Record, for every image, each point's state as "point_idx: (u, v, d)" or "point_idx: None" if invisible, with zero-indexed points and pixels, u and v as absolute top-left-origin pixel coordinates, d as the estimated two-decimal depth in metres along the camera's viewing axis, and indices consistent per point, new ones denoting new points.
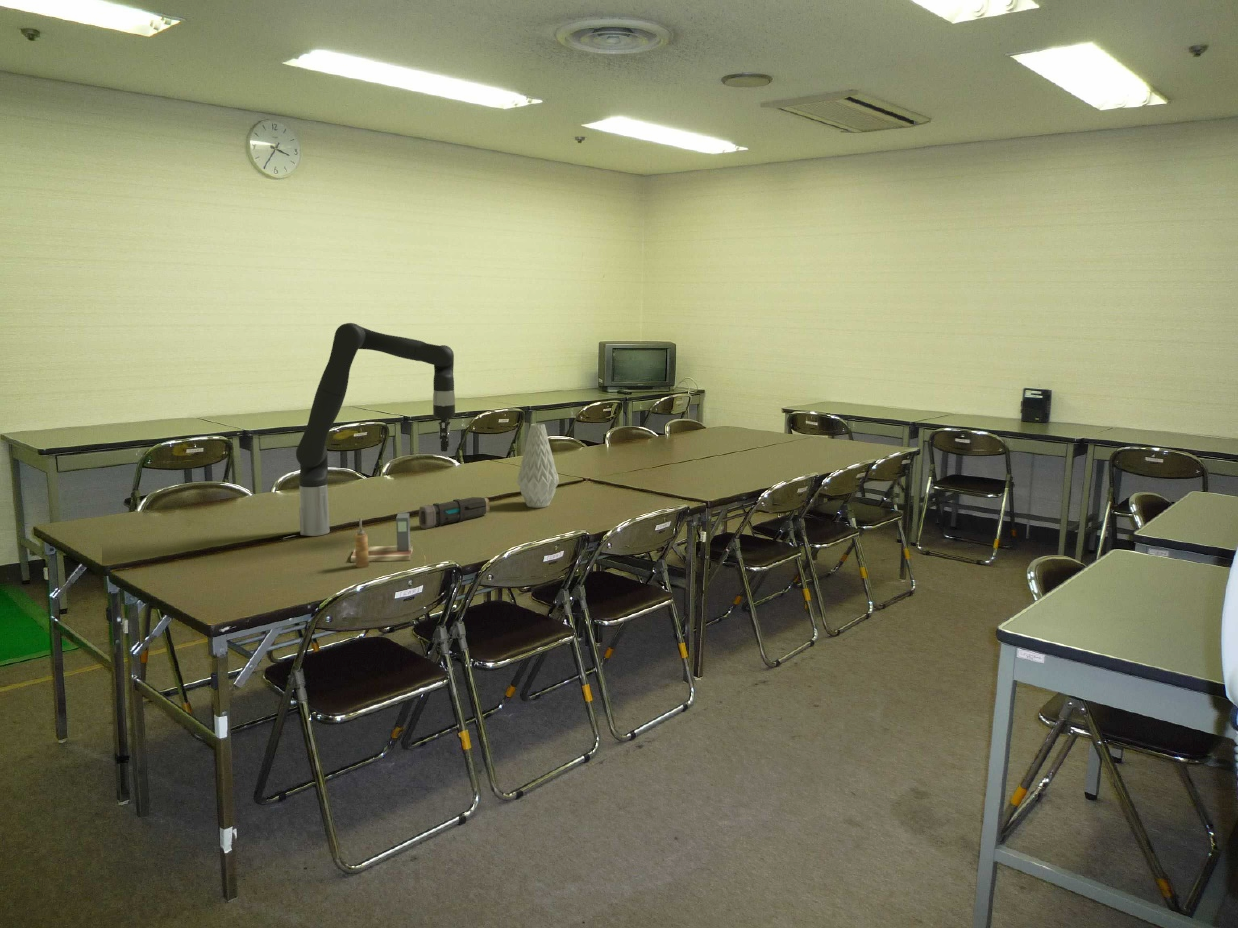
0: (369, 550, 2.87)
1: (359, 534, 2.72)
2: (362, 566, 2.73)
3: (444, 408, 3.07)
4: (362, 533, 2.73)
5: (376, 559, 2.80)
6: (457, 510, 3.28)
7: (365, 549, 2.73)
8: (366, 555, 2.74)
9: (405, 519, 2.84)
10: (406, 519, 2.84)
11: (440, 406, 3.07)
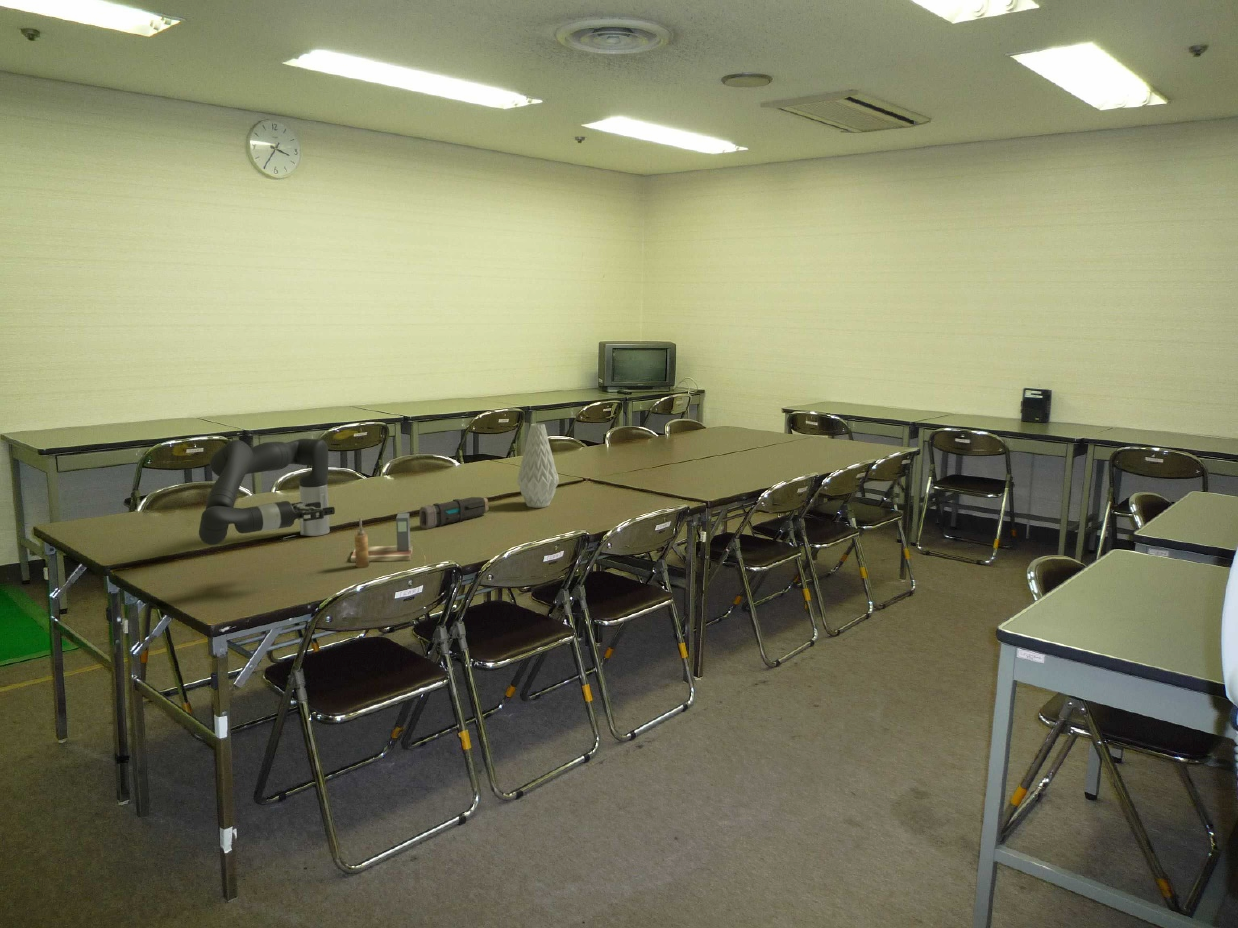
0: (369, 550, 2.87)
1: (359, 534, 2.72)
2: (362, 566, 2.73)
3: None
4: (362, 533, 2.73)
5: (376, 559, 2.80)
6: (457, 510, 3.29)
7: (365, 549, 2.73)
8: (366, 555, 2.74)
9: (405, 519, 2.84)
10: (406, 519, 2.84)
11: None
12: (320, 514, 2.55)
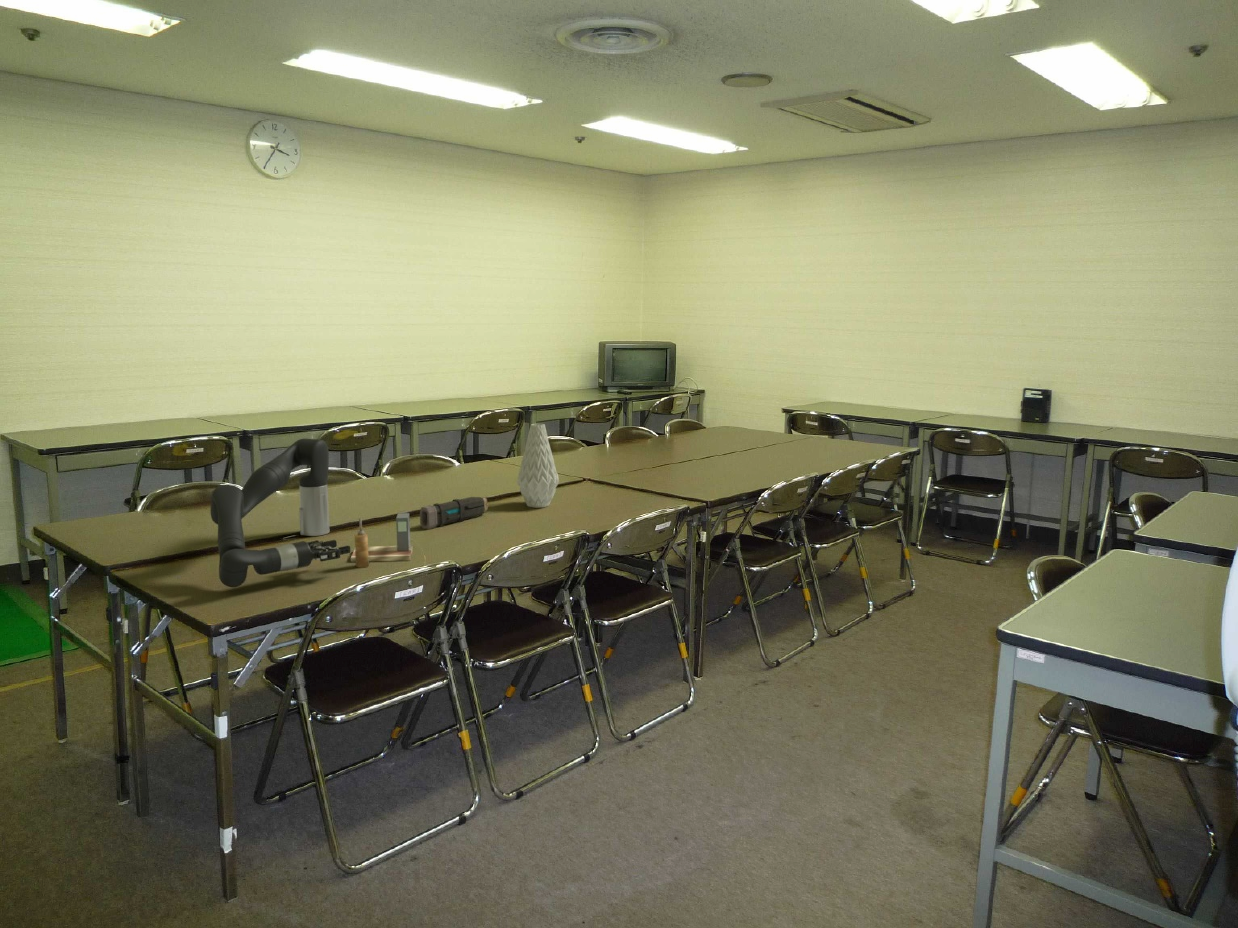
0: (369, 550, 2.87)
1: (359, 534, 2.72)
2: (362, 566, 2.73)
3: None
4: (362, 533, 2.73)
5: (376, 559, 2.80)
6: (457, 510, 3.29)
7: (365, 549, 2.73)
8: (366, 555, 2.74)
9: (405, 519, 2.84)
10: (406, 519, 2.84)
11: None
12: (336, 554, 2.61)
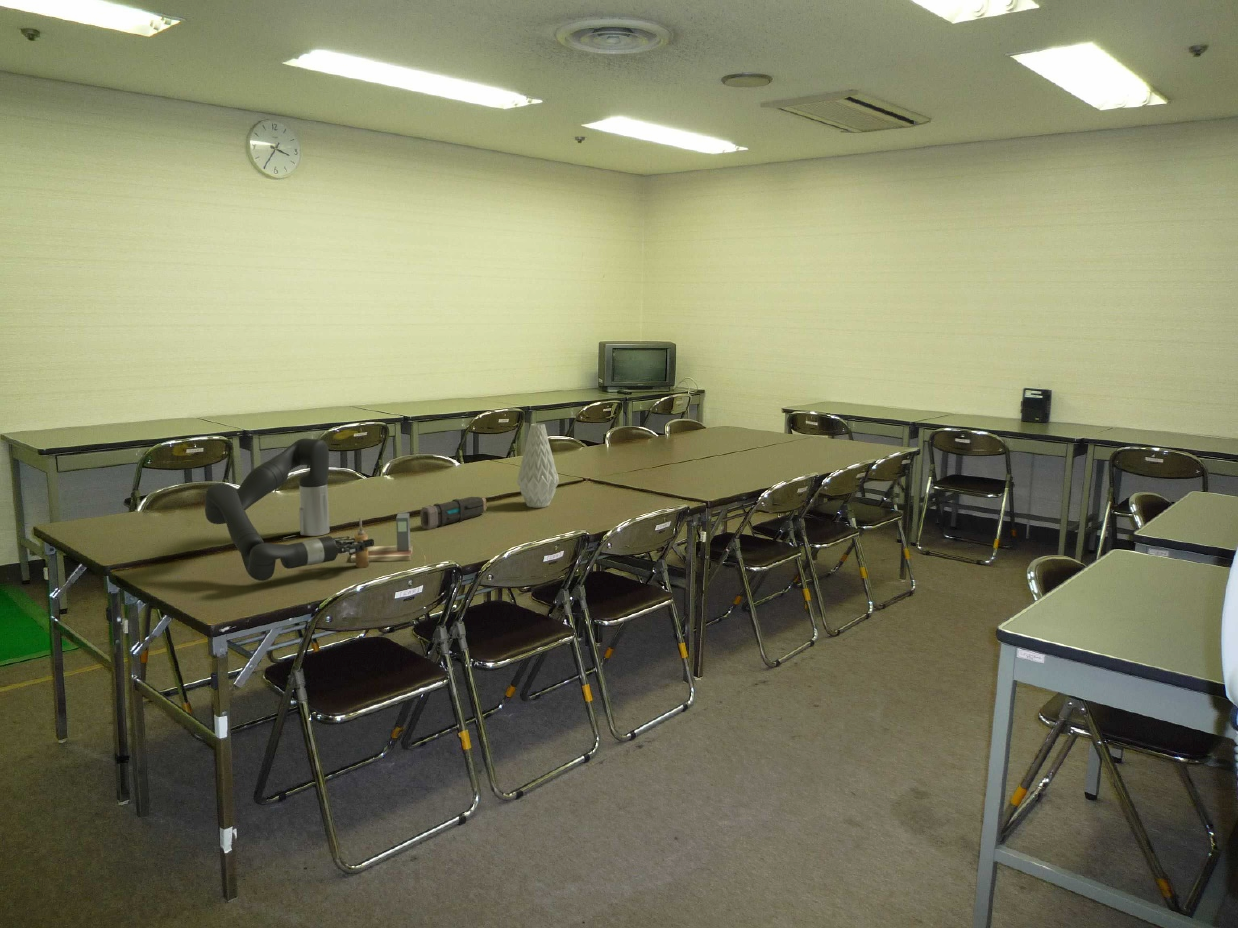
0: (369, 550, 2.87)
1: (359, 534, 2.72)
2: (362, 566, 2.73)
3: None
4: (362, 533, 2.73)
5: (376, 559, 2.80)
6: (457, 509, 3.29)
7: (365, 549, 2.73)
8: (366, 555, 2.74)
9: (405, 519, 2.84)
10: (406, 519, 2.84)
11: None
12: (361, 547, 2.69)
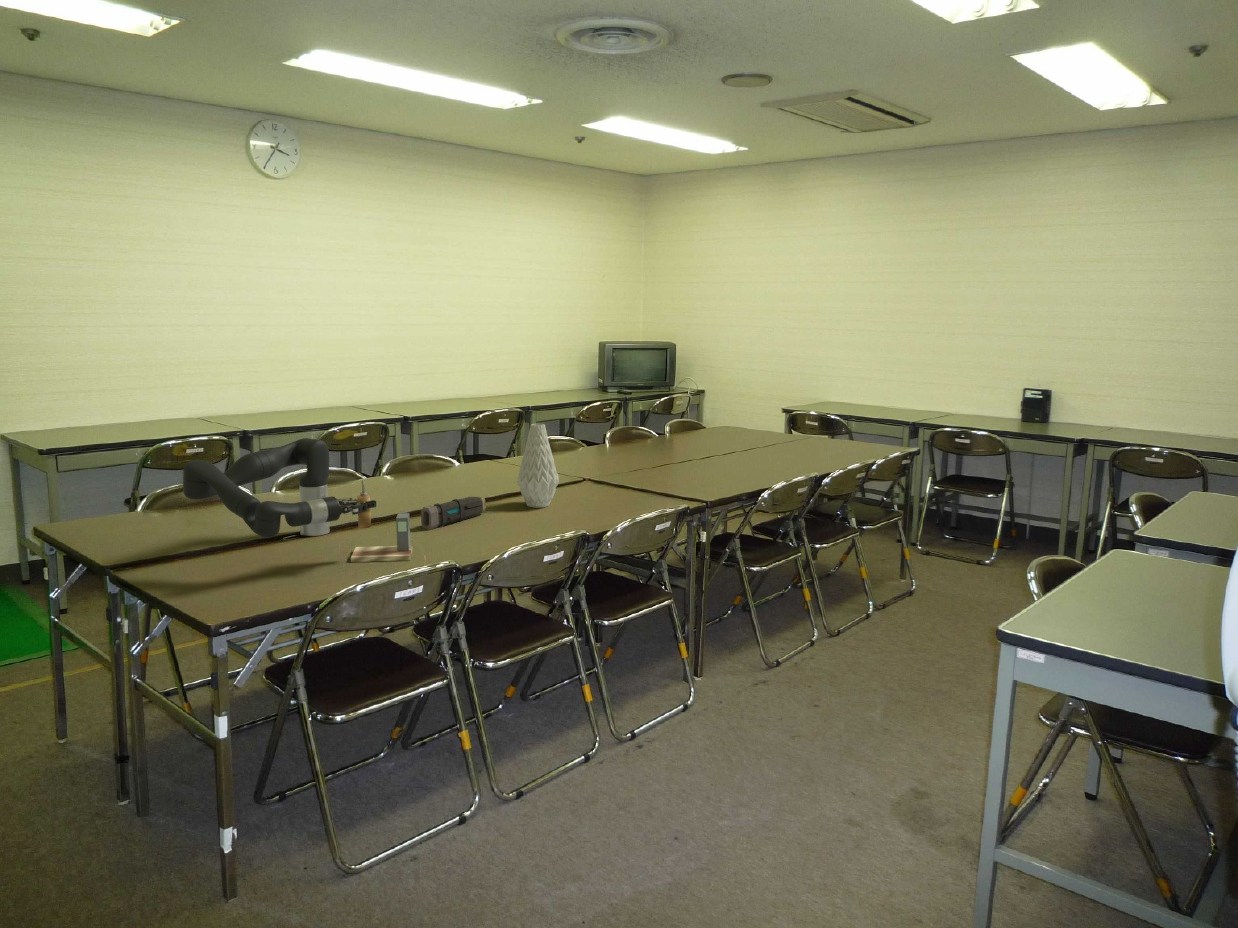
0: (369, 550, 2.87)
1: (362, 495, 2.79)
2: (365, 527, 2.80)
3: None
4: (365, 494, 2.79)
5: (376, 559, 2.80)
6: (457, 509, 3.29)
7: (368, 510, 2.79)
8: (368, 516, 2.80)
9: (405, 519, 2.84)
10: (406, 519, 2.84)
11: None
12: (364, 507, 2.75)
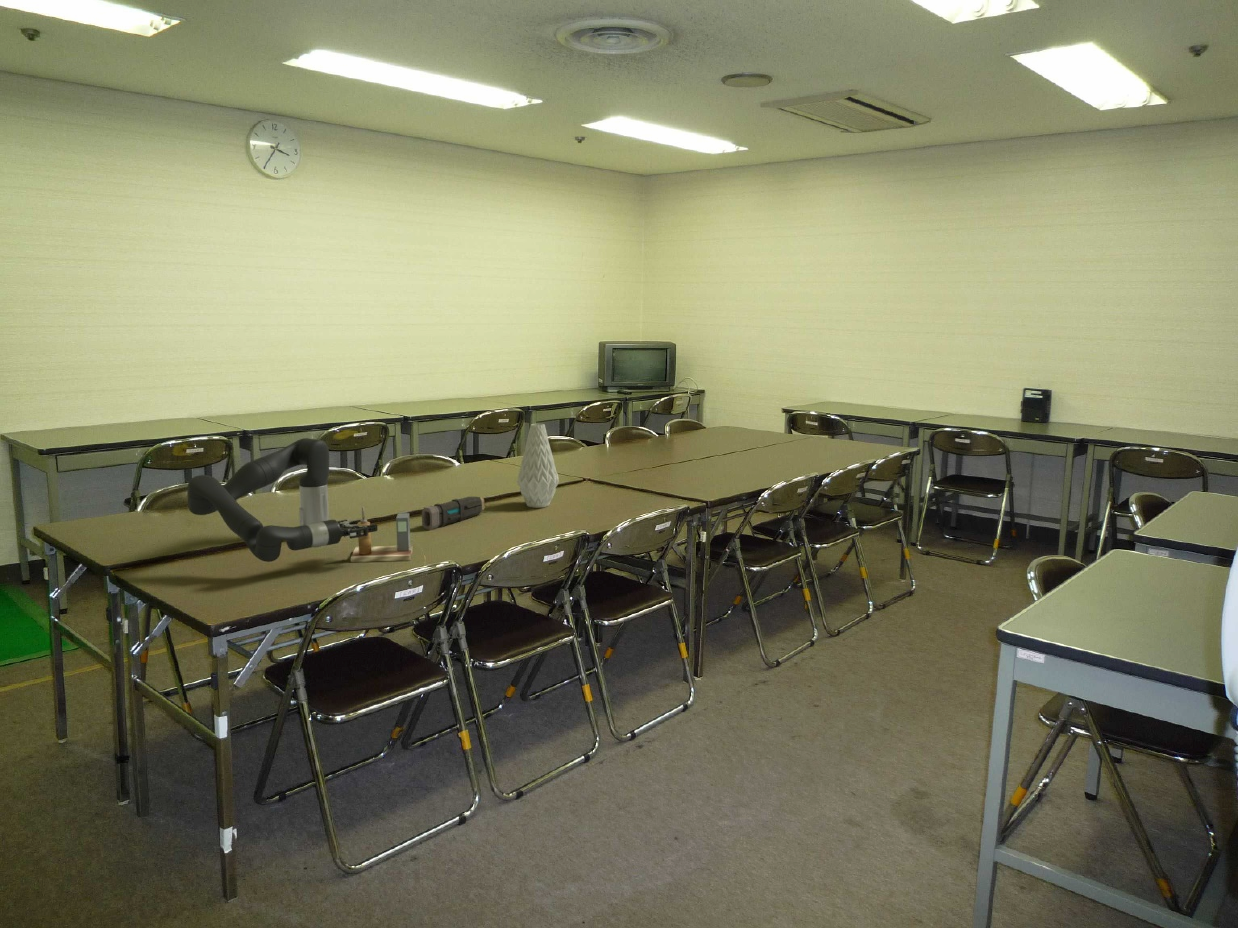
0: None
1: (362, 522, 2.80)
2: (365, 553, 2.81)
3: None
4: (365, 521, 2.80)
5: (376, 559, 2.80)
6: (457, 509, 3.29)
7: (368, 537, 2.81)
8: (369, 543, 2.81)
9: (405, 519, 2.84)
10: (406, 519, 2.84)
11: None
12: (365, 531, 2.74)
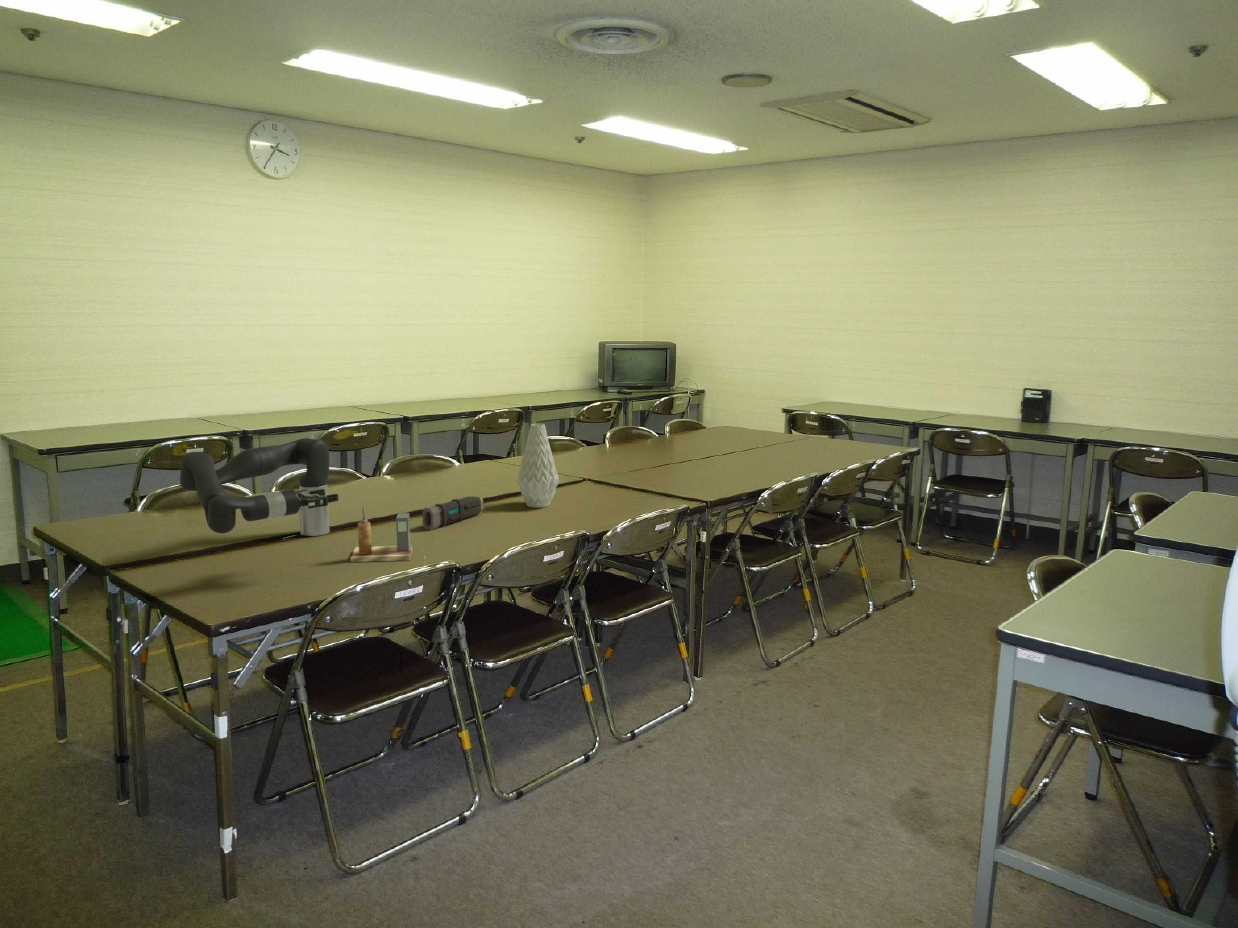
0: None
1: (362, 522, 2.80)
2: (365, 553, 2.81)
3: None
4: (365, 521, 2.80)
5: (376, 559, 2.80)
6: (457, 509, 3.29)
7: (368, 537, 2.81)
8: (369, 543, 2.82)
9: (405, 519, 2.84)
10: (406, 519, 2.84)
11: None
12: (324, 501, 2.63)
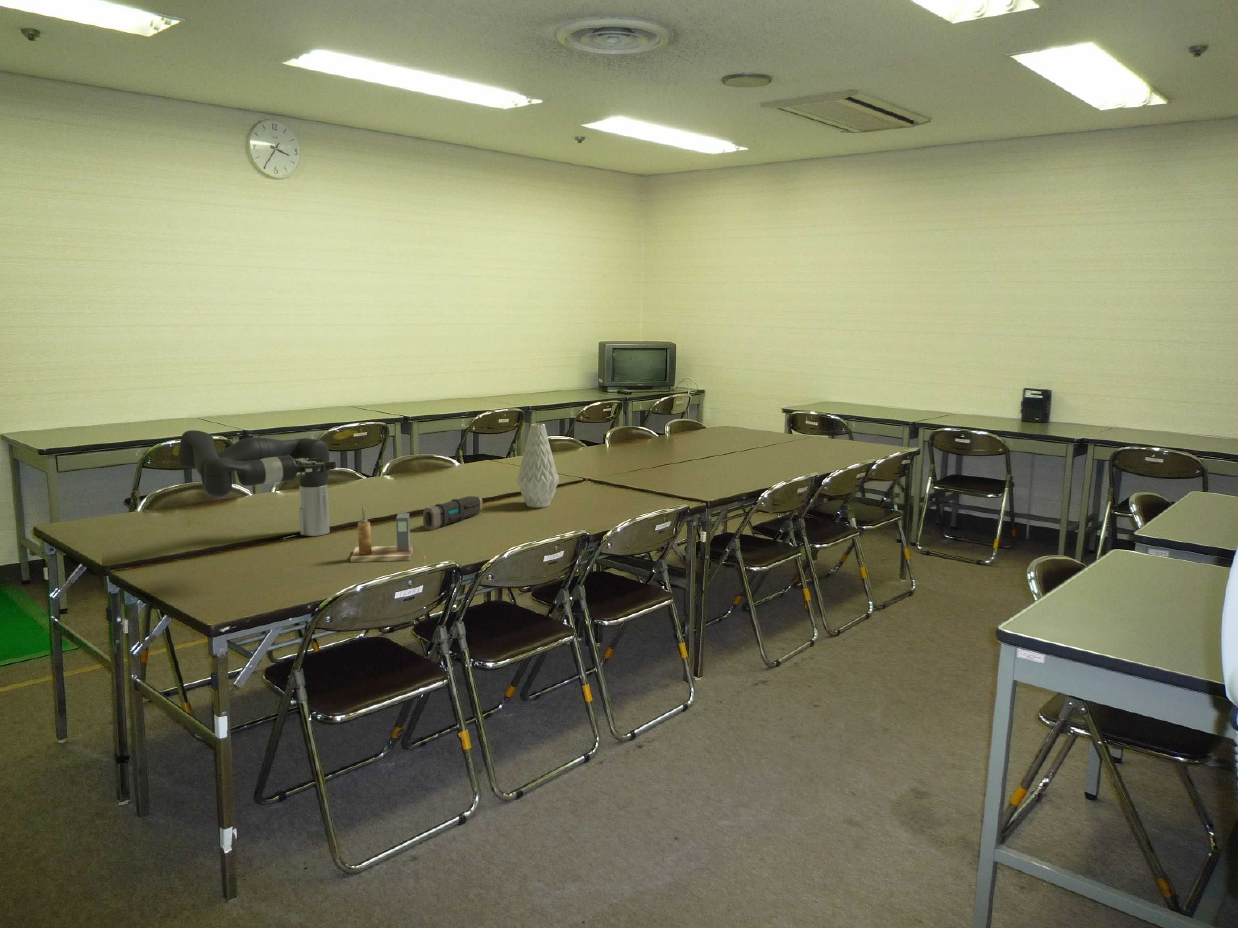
0: None
1: (362, 522, 2.80)
2: (365, 553, 2.81)
3: None
4: (365, 521, 2.80)
5: (376, 559, 2.80)
6: (457, 509, 3.29)
7: (368, 537, 2.81)
8: (369, 543, 2.82)
9: (405, 519, 2.84)
10: (406, 519, 2.84)
11: None
12: (321, 468, 2.61)
